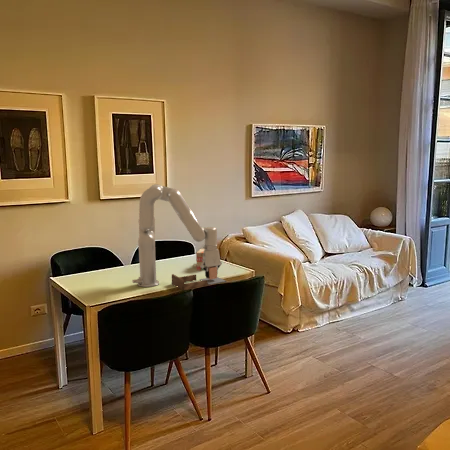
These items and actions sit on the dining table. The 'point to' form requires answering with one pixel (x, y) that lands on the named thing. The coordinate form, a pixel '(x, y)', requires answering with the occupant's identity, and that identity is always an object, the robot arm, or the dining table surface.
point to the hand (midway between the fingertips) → (211, 276)
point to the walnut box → (180, 283)
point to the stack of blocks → (199, 259)
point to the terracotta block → (212, 272)
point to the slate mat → (213, 280)
